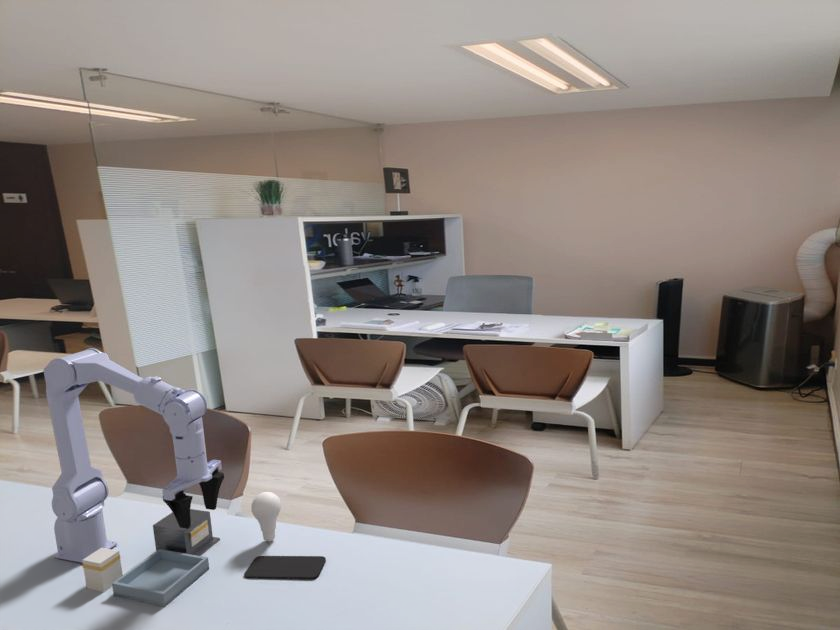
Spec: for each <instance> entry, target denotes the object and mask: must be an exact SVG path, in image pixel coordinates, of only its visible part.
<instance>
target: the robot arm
mask: <svg viewBox="0 0 840 630" xmlns="http://www.w3.org/2000/svg"><path fill="white" fill-rule="evenodd" d="M43 376H44V381H45V387H46V388H45V393H46V400H47V403H48V409H49V414H50V419H51V424H52V430H53V435H54V439H55V446H56V450H57V455H58V461H59V465H60V467H59V468H60V470H61V473H60V475H59V476H58V478H57V479H56V481H55V482H54V484H53V485H52V488H51V490H52V499H51V509H52V512H53V514H54V515H55V516H56V519H55V522H54V526H53V527H54V528H53V529H54V530H53V531H54V537H55V542H56V547H57V550H56V551H57V553H55V554H54V558H55V559H61V560H65V561H71V562H75V563H81V564H83V562H82V560H83V559H85V558H86V557H88V556H89V555H91V554H92V553H94V552H95V551H97V550H99V549H100V548H106V549H113V548H114V547H116V546H117V545H118V542H117V541H112V540H108V539H107V533H106V532H107V531H106V525H105V519H104V513H103V512H104V511H103V507H105V500H107V498H108V497H109V492H110V491H109V486H108V484H107V482H106V480H105V479H104V477H103V473H102V470H101V469H100V468H98V467H94V466H92V464H91V458H90V453H89V452H90V451H89V448H88V441H87V435H86V432H85V430H86V429H85V425H84V421H83V415H82V410H81V404H80V399H79V395H80V394H81V393H82V392H83V390H84V389H85V388H86V387H87V386H88V385H89V384H90V383H91V384H92V383H96V382H102V383H104V384H106V385H109V386H112V387H114V388H116V389H119V390H122V391H124V392H127V393H128V394H129V393H130V394H132V395H133V398H134V401H135V402H136V404H138V405H141V406H143V407H144V408H147V409H149V410H151V411H153V412H155V413H157V414H159V415H161V416H162V418H163V420H164V422H165V423H166V424H167V426H168V427H169V433H170V434H171V436H172V441H173V442H172V443H173V451H174V459H175V466H176V474H177V475H176V477H175V478H174V479H173V480H172V481H171V482H170V483H169V485H167V486H166V487H164V488H162V490H161V491H162V501H163V502H164V503H165V504H166V505H167V507H168V508H169V509H170V511H171V513H172V512H173V514H174V515H175V517H176V520H177V522H178V524H179V527H180V528H186V529H188V528H190V525H191V517H190V509H191V506H192V500H193V496H192V495H187V494H186V493H185V491H186V490H188V489H189V488H191V487H192V486H195V485H197V484H199V486H200V489H201V493H202V499H203V504H204V508H205V510H212V511H215V510H217V504H218V499H219V498H218V497H219V493H220V490H221V487H222V483H223V481H224V479H225V474H224V472H220V471H221V470H223V469H222V468H223V467H222V460H219V459H211V460H210V461H208V459H207V449H206V442H205V441H206V440H205V433H204V424H203V417H202V416H204V415H205V413H206V412H207V408H208V404H207V400H206V398H205V397H204V395H203V394H202V393H200V392H199V391H198V390H197V389H187V390H184V389H182V388H180V387H179V386H174V385H172V384H169V383H167V382H165V381H162V377H159V376H158V375H155V376H147V377H144V378H143V377H141V376H139V375H137V374H135V373H133V372H132V371H130V370H128V369H127V368H126V367H123V366H122V365H120V364H118V363H116V362H114V361H113V360H111V359H110V357H109V355H108V354H107V353H106V352H103V351H101V350H99V349H97V348H92V347H91V348H86V349H85V350H82V351H79V352H75V353H72V354H69V355H65V356H62V357H56V358H53V359H52V360H50V361H49V363H48V364H47V365H46V366H45V367H44V368H43Z"/></svg>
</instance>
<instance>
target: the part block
mask: <svg viewBox="0 0 840 630" xmlns="http://www.w3.org/2000/svg"><path fill="white" fill-rule="evenodd" d="M82 562H83V563H82V568H83V573H84V579H85V586H86V589H87V590H91V591H92V590H93V591H98V592H103V593H106V592H107V591H108V590H110V589H111V588H112V583H113V582H114V581H116V580H117V579H119V578H120V577H121V576H123V575H124V574H123V570H122V563H121V554H120V550H117V549H116V550H115V549H113V548H111V549H106V548H100V549H99V550H97V551H95V552H94V553H92V554H91V555H89V556H88V557H86V558H85V559H83V560H82Z"/></svg>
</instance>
